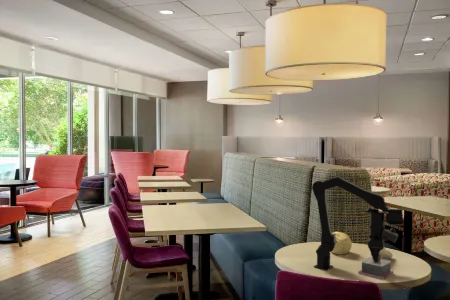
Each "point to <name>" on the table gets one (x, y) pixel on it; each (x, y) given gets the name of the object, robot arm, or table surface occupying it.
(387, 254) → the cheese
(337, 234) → the sculpture
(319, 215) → the robot arm
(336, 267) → the table surface
